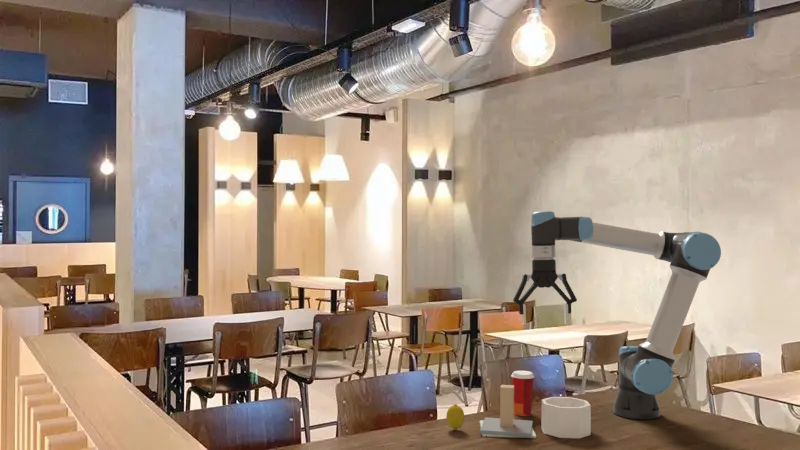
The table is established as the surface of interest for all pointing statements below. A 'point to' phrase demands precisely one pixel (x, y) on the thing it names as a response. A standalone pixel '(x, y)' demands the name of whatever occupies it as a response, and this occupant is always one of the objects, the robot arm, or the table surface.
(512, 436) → the mat
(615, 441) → the table surface
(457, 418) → the lemon
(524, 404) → the paper cup
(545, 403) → the bowl
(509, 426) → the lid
